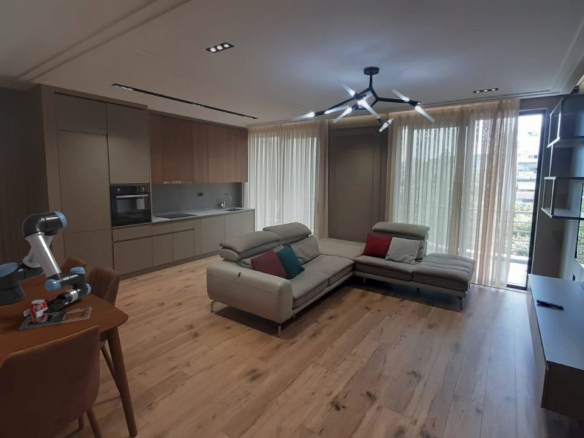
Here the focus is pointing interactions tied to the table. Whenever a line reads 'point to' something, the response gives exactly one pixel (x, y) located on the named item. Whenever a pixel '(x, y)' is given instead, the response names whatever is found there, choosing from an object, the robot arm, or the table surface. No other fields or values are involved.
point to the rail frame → (57, 318)
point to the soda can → (36, 307)
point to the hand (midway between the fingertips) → (30, 314)
